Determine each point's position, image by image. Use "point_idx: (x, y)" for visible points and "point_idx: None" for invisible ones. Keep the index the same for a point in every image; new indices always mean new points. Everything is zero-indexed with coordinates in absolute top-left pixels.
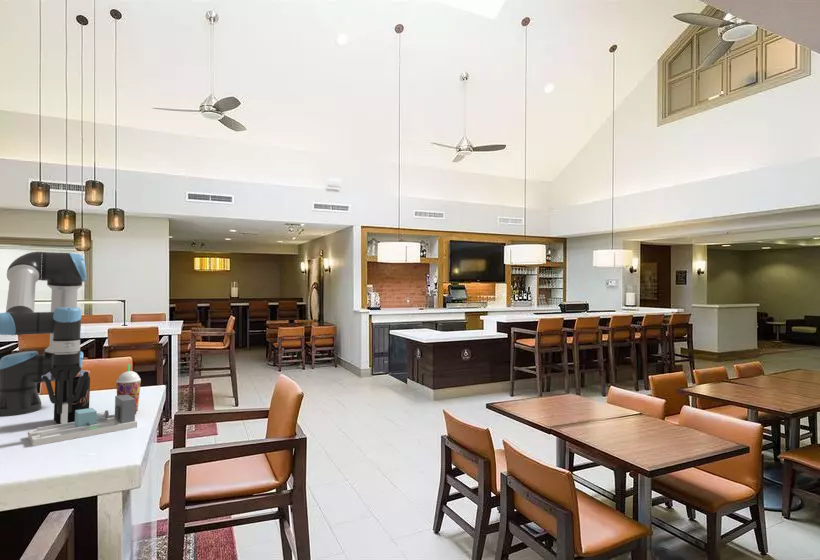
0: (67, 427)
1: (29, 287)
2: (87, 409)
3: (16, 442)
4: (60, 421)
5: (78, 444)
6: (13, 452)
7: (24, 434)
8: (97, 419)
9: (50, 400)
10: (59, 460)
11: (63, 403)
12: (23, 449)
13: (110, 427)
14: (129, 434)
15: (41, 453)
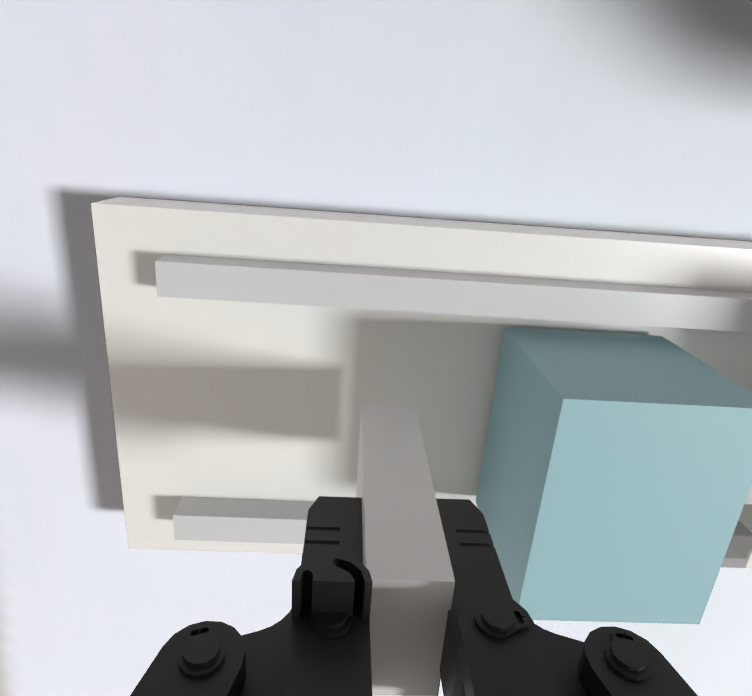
0: (429, 349)
1: None
2: (685, 467)
3: (32, 308)
4: (361, 411)
5: None
6: (31, 564)
7: (88, 27)
8: (729, 326)
9: (155, 686)
10: None
11: (390, 629)
12: (89, 541)
13: None
14: (702, 659)
15: None
